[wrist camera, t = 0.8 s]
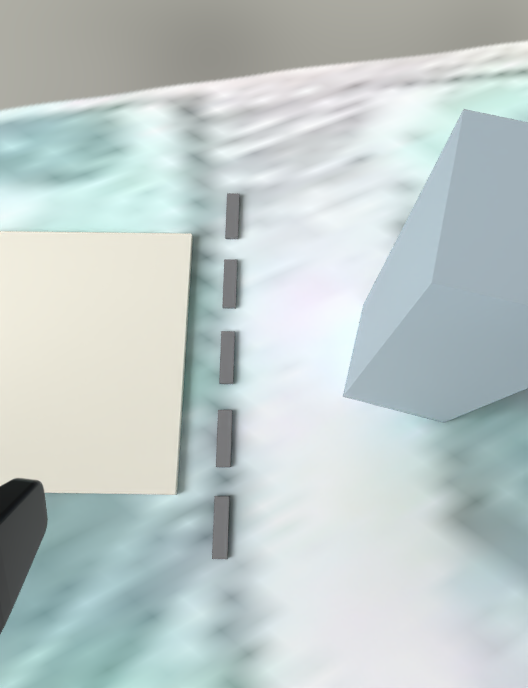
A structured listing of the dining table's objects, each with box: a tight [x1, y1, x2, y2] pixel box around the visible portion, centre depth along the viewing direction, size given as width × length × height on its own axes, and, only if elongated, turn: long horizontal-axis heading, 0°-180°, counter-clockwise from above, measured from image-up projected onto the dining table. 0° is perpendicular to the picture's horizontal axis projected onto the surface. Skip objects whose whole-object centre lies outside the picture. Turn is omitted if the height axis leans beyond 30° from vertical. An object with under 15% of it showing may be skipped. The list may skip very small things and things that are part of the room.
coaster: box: [0, 231, 193, 495], centre depth 23 cm, size 12×12×1 cm
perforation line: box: [212, 194, 239, 559], centre depth 23 cm, size 17×1×1 cm, turn 179°
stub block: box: [343, 109, 528, 422], centre depth 17 cm, size 4×4×12 cm
